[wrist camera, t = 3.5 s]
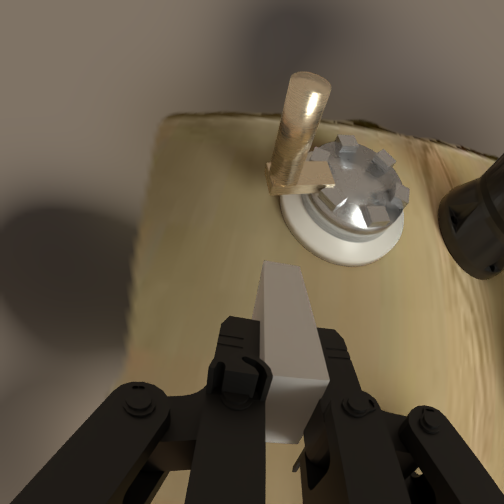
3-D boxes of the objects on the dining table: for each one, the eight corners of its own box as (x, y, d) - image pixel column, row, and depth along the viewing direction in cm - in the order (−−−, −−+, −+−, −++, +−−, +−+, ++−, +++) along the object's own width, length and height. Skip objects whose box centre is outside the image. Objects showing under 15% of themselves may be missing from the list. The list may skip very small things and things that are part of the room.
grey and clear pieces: (372, 159, 38) (424, 70, 23) (404, 238, 33) (486, 156, 19) (254, 161, 35) (273, 44, 21) (272, 252, 31) (315, 139, 16)
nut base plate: (334, 142, 41) (338, 132, 39) (415, 219, 37) (423, 211, 35) (252, 195, 36) (254, 184, 34) (348, 294, 32) (356, 288, 30)
